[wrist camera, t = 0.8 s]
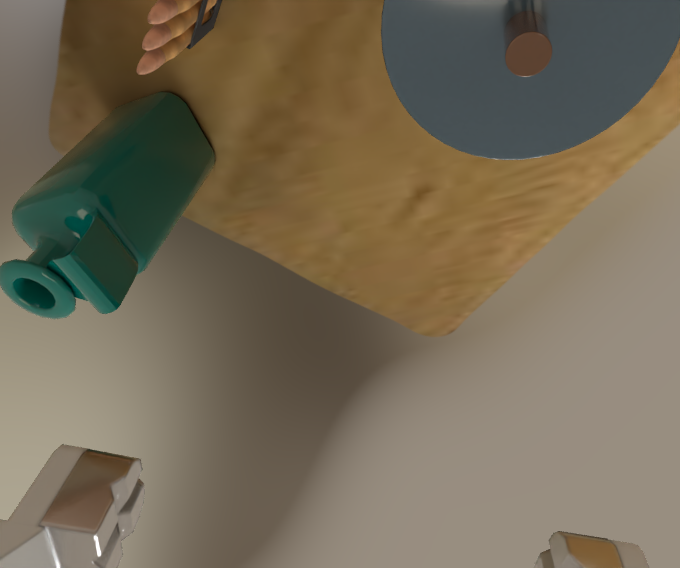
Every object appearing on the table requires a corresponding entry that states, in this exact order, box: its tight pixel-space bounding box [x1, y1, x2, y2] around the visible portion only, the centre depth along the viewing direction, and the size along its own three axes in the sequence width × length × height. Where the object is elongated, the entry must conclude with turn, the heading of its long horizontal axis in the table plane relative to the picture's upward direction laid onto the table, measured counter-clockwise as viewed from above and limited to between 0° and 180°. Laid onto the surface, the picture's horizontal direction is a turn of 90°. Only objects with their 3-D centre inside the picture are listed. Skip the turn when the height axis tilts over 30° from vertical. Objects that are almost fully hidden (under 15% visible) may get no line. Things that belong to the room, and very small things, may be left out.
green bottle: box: [0, 92, 215, 319], centre depth 44 cm, size 10×8×22 cm
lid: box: [381, 0, 680, 160], centre depth 31 cm, size 17×17×5 cm
